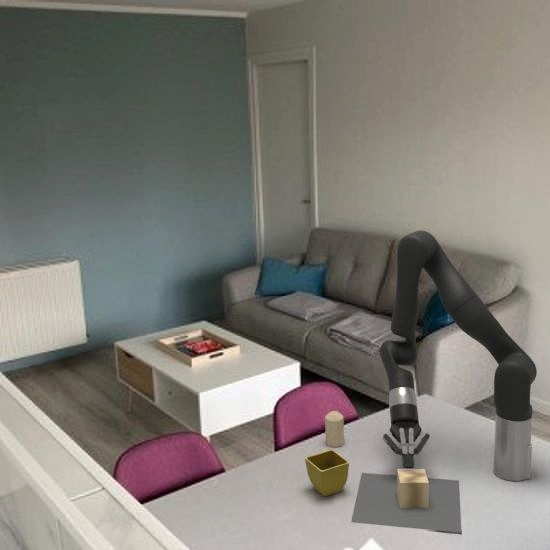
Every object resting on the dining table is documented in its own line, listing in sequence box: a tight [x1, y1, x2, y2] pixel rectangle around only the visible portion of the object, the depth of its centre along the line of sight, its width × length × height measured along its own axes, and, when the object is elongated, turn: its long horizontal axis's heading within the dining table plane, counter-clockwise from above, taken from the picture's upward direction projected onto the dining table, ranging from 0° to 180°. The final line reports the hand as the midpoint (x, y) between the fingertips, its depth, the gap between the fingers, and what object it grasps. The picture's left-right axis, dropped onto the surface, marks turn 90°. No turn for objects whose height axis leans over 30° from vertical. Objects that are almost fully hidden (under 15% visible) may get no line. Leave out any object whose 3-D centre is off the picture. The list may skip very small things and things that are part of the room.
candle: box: [324, 410, 345, 448], centre depth 209 cm, size 6×6×10 cm
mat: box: [350, 472, 462, 535], centre depth 177 cm, size 26×24×1 cm
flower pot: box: [304, 449, 350, 497], centre depth 183 cm, size 9×9×9 cm
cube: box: [396, 468, 429, 508], centre depth 176 cm, size 7×7×7 cm
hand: (409, 469), depth 183 cm, fingers closed
